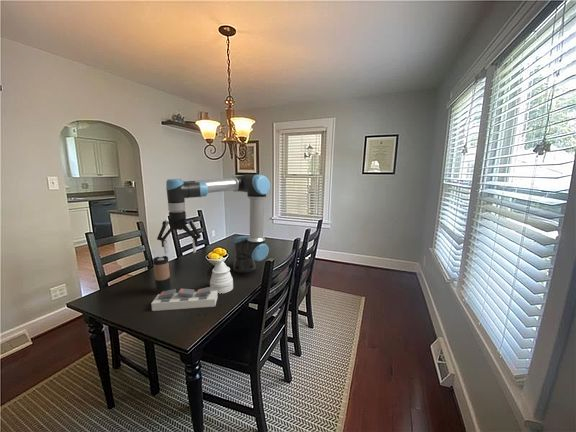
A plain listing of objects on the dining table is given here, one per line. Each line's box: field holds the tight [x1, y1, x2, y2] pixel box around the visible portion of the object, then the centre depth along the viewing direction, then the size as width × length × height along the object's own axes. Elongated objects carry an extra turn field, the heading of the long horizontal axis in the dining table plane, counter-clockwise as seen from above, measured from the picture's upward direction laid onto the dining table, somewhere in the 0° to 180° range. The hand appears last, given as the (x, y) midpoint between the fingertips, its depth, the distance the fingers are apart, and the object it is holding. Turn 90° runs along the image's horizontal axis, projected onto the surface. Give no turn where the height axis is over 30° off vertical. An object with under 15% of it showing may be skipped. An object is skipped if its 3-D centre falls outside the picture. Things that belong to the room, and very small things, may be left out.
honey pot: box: [209, 259, 234, 295], centre depth 143 cm, size 13×13×18 cm
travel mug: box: [152, 255, 172, 295], centre depth 139 cm, size 8×8×20 cm
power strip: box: [150, 291, 219, 312], centre depth 128 cm, size 30×9×4 cm, turn 98°
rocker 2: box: [196, 286, 212, 297], centre depth 129 cm, size 7×5×2 cm
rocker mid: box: [177, 288, 196, 297], centre depth 128 cm, size 7×5×2 cm
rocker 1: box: [158, 288, 177, 299], centre depth 127 cm, size 7×5×2 cm
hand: (180, 252), depth 125 cm, fingers open, 13 cm apart
